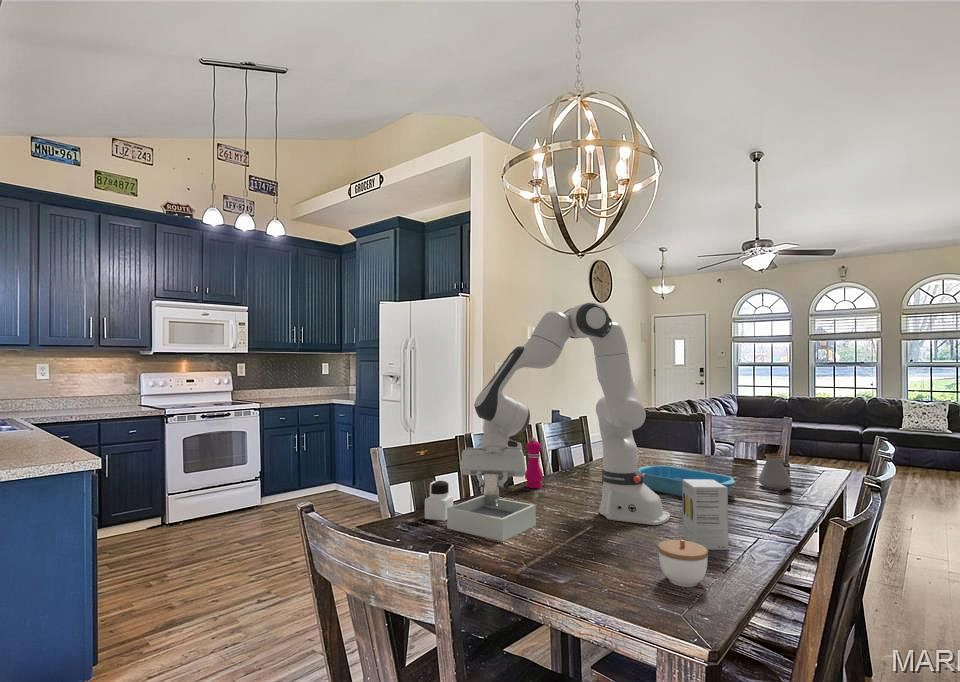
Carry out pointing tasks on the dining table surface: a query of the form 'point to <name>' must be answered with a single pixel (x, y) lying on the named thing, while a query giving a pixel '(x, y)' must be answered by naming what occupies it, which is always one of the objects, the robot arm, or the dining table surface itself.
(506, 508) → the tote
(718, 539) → the supplement box
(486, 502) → the tin can
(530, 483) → the pepper mill
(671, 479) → the casserole dish
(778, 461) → the coffee pot
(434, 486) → the medicine bottle
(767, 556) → the dining table surface
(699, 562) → the lidded jar
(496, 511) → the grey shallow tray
